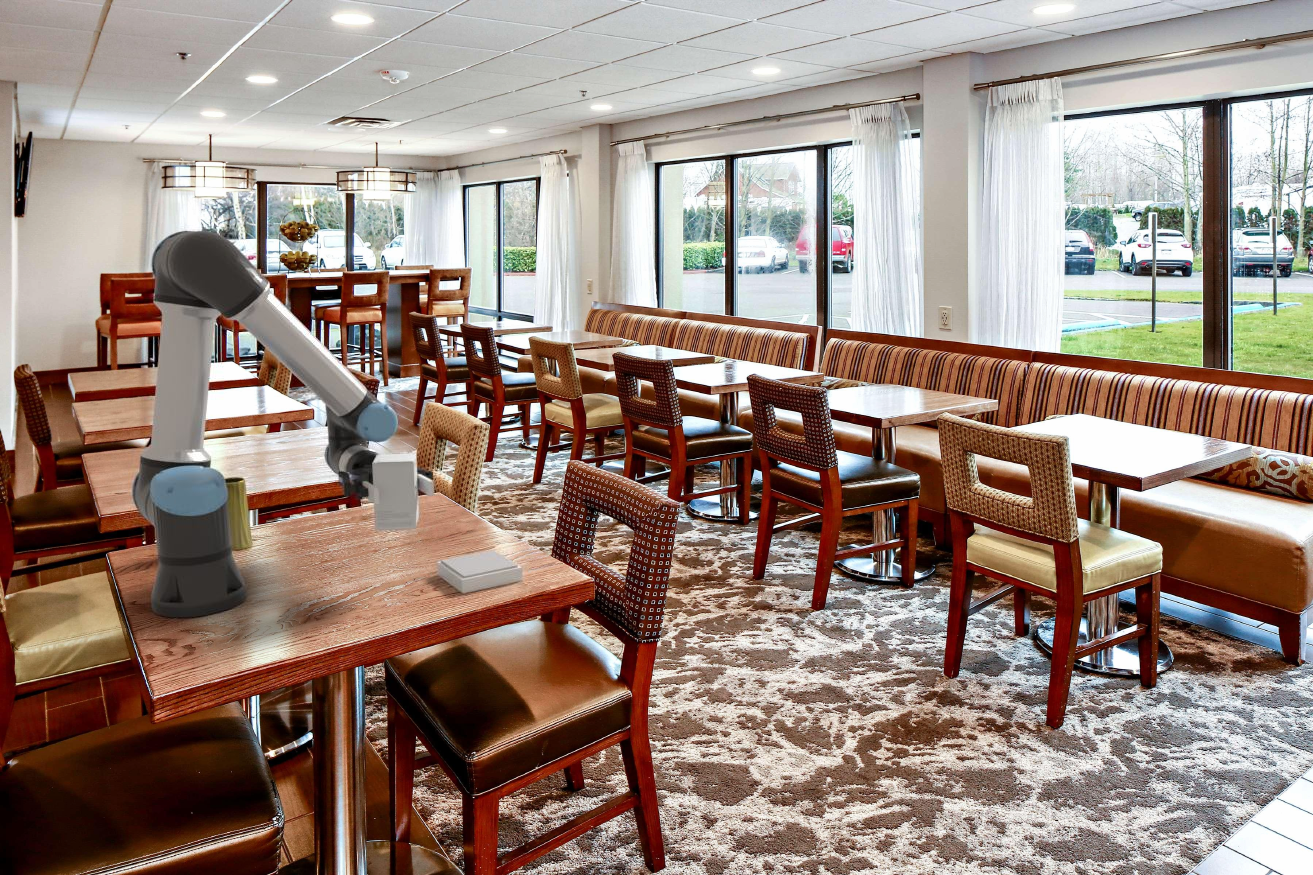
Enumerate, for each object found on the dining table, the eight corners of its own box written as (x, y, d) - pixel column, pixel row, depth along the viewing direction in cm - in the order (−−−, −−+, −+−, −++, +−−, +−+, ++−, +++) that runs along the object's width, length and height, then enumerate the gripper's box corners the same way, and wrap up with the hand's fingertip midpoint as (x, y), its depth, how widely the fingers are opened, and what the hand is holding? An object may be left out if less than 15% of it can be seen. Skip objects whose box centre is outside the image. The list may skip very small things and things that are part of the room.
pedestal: (462, 593, 171) (462, 577, 171) (437, 574, 181) (436, 559, 180) (522, 580, 178) (522, 565, 177) (495, 563, 188) (494, 548, 187)
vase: (246, 539, 202) (241, 475, 199) (257, 546, 197) (252, 480, 194) (217, 545, 198) (210, 479, 195) (227, 552, 193) (221, 485, 190)
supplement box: (417, 529, 169) (414, 461, 167) (374, 531, 168) (370, 462, 166) (420, 518, 177) (417, 452, 174) (379, 519, 175) (375, 453, 173)
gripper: (419, 479, 192) (463, 503, 174) (307, 494, 180) (343, 522, 162) (417, 443, 191) (462, 464, 173) (305, 456, 179) (340, 480, 161)
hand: (404, 492), depth 167 cm, fingers closed on supplement box, 9 cm apart
